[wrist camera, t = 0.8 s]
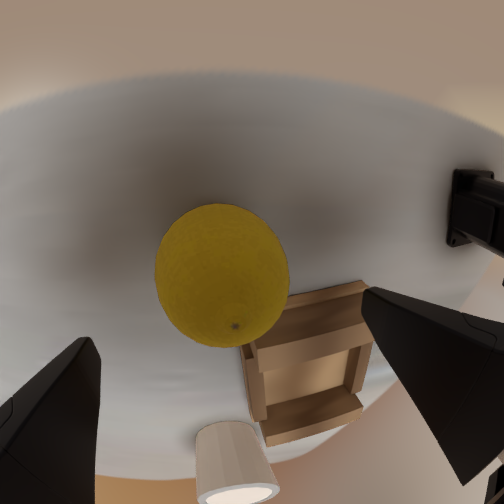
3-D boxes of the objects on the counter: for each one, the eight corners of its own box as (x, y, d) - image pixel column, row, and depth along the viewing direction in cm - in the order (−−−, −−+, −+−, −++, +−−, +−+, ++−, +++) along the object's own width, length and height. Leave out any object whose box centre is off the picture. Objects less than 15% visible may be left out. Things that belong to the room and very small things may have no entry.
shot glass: (204, 457, 24) (214, 513, 18) (177, 427, 21) (183, 495, 15) (267, 441, 25) (286, 497, 18) (251, 408, 22) (272, 476, 16)
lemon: (141, 234, 15) (107, 317, 8) (222, 169, 15) (259, 197, 7) (204, 301, 17) (221, 405, 10) (279, 246, 17) (345, 324, 10)
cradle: (361, 280, 19) (394, 309, 16) (345, 387, 24) (364, 418, 20) (234, 306, 18) (247, 347, 14) (250, 413, 22) (260, 450, 19)
